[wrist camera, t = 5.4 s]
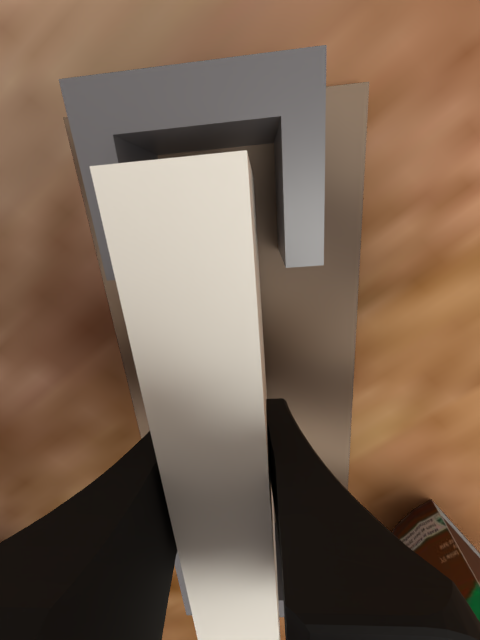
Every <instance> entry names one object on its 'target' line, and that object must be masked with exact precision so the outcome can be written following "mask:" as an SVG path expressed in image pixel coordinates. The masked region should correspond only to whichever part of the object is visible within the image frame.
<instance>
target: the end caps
mask: <svg viewBox="0 0 480 640" xmlns="http://www.w3.org/2000/svg"><path fill="white" fill-rule="evenodd" d="M59 83H60V87H61V91H62V95H63V99H64V104H65V108H66V112H67V116H68V120H69V125H70V129H71V133H72V137H73V141H74V145H75V150H76V154H77V158H78V162H79V166H80V171H81V175H82V179H83V183H84V187H85V191H86V196H87V200H88V204H89V208H90V212H91V217H92V221H93V225H94V229H95V233H96V237H97V242H98V246H99V250H100V254H101V258H102V263H103V267H104V271H105V275H106V279H107V281H109V280H115V276H114V271H113V267H112V263H111V258H110V254H109V249H108V245H107V241H106V236H105V232H104V228H103V223H102V219H101V215H100V210H99V206H98V202H97V197H96V193H95V188H94V184H93V180H92V175H91V171H90V167H89V166H97V165H107V164H117V163H126V162H136V161H146V160H156V159H158V156H157V155H164V154H173V153H183V152H193V151H202V150H212V149H221V148H231V147H241V146H250V145H260V144H270V143H274V155H275V181H276V206H277V232H278V250H279V252H280V255H281V257H282V260H283V262H284V265H285V267H286V268H292V267H306V266H321V265H324V205H325V121H326V45H323V46H315V47H307V48H299V49H291V50H284V51H276V52H268V53H260V54H252V55H245V56H237V57H229V58H221V59H213V60H206V61H198V62H190V63H182V64H174V65H166V66H159V67H151V68H143V69H135V70H127V71H120V72H112V73H104V74H96V75H88V76H80V77H73V78H65V79H59ZM275 541H276V561H277V582H278V602H279V617H284V602H283V586H282V569H281V556H280V546H279V539H278V531H277V524H276V523H275ZM175 568H176V572H177V576H178V581H179V585H180V589H181V593H182V597H183V602H184V606H185V610H186V614H187V615H192V611H191V607H190V603H189V598H188V594H187V590H186V585H185V581H184V577H183V572H182V568H181V563H180V559H179V555H178V550H177V554H176V559H175Z"/></svg>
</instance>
